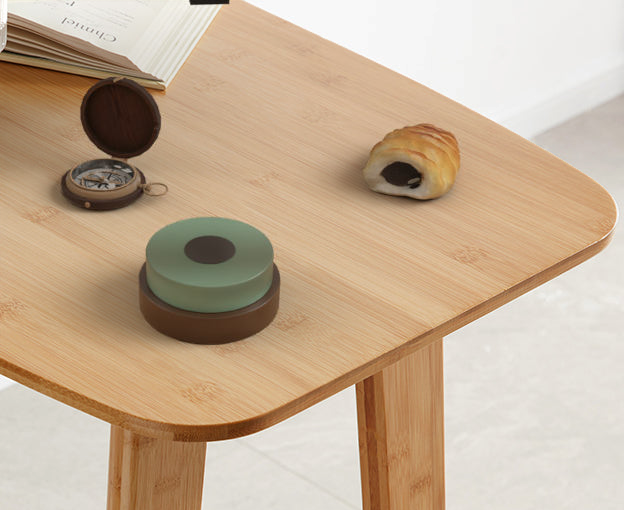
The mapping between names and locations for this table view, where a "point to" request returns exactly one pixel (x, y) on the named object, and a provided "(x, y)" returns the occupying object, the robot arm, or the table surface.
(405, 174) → the pastry
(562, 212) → the table surface
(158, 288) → the ring stack
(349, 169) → the table surface
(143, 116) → the compass
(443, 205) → the table surface
